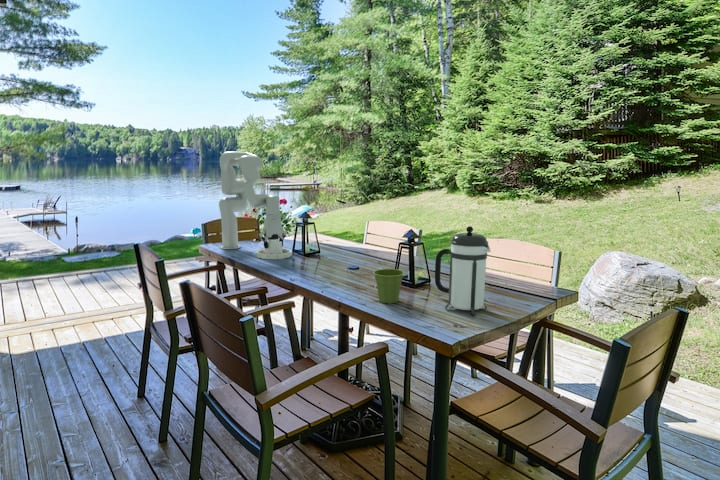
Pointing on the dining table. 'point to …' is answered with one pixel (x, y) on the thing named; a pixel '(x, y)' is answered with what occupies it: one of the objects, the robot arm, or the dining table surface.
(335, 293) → the dining table surface
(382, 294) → the plant pot
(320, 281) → the dining table surface
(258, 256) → the tray
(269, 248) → the medicine bottle
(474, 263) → the coffee press
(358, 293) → the dining table surface
